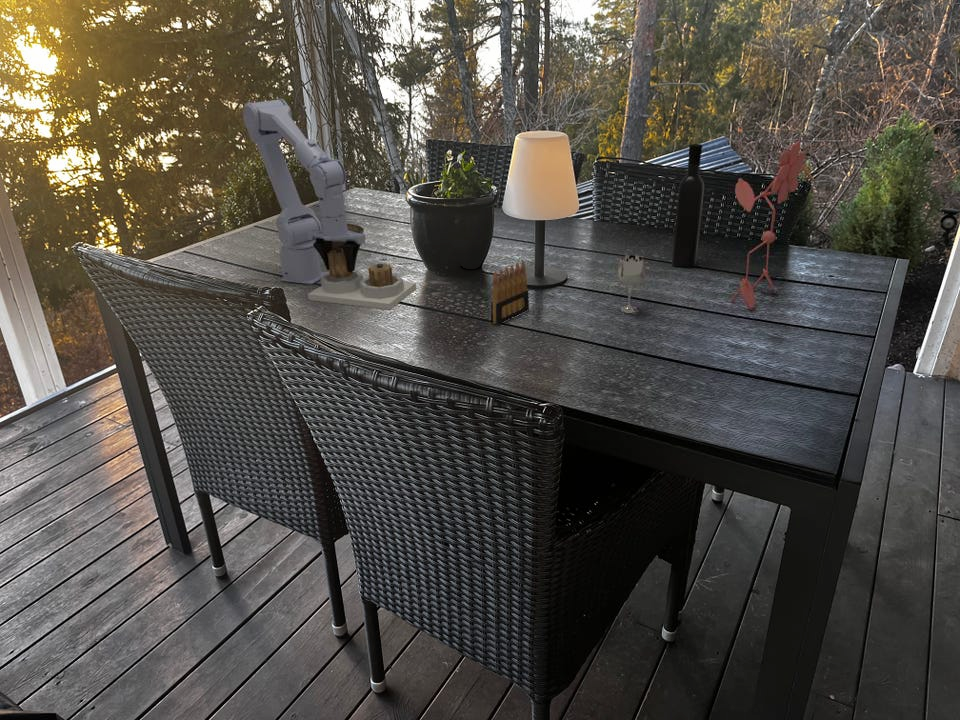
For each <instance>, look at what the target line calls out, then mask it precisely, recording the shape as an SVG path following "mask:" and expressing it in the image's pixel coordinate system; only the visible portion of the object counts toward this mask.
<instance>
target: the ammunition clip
mask: <svg viewBox="0 0 960 720" xmlns="http://www.w3.org/2000/svg"><path fill="white" fill-rule="evenodd" d="M526 270H527V269H526V263H525V261H524V260H522V261H521V263H520V264H519V262H517V263H516V264H515V268H514V265H513V264H511V265H510V267H509V268H508V266H506V267H505V268H504V271H503V269H502V268H500V269H499V272H498V273H497V271H494V272H493V277H492V291H491V296H492V298H491V299H492V301H490V323H493V324H492V325H494V324H495V325H494V326H497V325H498V326H500V325H501V324H500V323H502V322H504V321H506V320H508V319H511V318H512V317H515V316H517V315H519V314H521V313H523V312H525V311H527V310H529V311H530V305H529V304H530V301H529V300H530V299H529V290H528V285H527V284H528V281H527V280H528V279H527V273H526ZM523 314H524V313H523ZM521 315H522V314H521ZM519 316H520V315H519ZM517 317H518V316H517ZM515 318H516V317H515ZM511 320H512V319H511ZM506 322H507V321H506ZM504 323H505V322H504ZM499 324H500V325H499ZM502 324H503V323H502Z"/></svg>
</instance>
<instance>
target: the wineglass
mask: <svg viewBox="0 0 960 720" xmlns="http://www.w3.org/2000/svg"><path fill="white" fill-rule="evenodd" d="M619 259H620V260H619V263H618V267H617V276H616V277H617V280H618V281H619V283H620V285H622V286H624V287H627V304H626V305H623V306H624V307H622V306H621V307H622V308H621V310H622V312H623V311H624V312H626V313H632V312H635V311H637V309H636V308H637V307H636V306H633V305H631V296H632V293H633V289H632V288H635V287H637V286H639V285H641V284H642V283H643V281H644V278H645V273H646V272H645V270H646V269H645V263H644V258H643V257H642V256H640V255H636V254H628V255H623V256H621V257H620V258H619ZM632 306H633V307H632ZM635 307H636V308H635Z"/></svg>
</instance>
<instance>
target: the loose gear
mask: <svg viewBox="0 0 960 720" xmlns="http://www.w3.org/2000/svg"><path fill="white" fill-rule="evenodd" d="M327 254H328V262H329V269H330V270H329V272H330V276H333V278H346V277H350V276H351V274H353V271H352V272H348V270H347V264H346V258H345V255H344V252H343V250H342V248H336V249H332V251H329V253H327Z"/></svg>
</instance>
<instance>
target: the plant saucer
mask: <svg viewBox="0 0 960 720" xmlns="http://www.w3.org/2000/svg"><path fill="white" fill-rule="evenodd" d="M321 226H322V223H321ZM347 228H348V231H352V232H356V233H361V234H364V232H365V229H364V227H362V226H361V225H357V224H352V223H347ZM322 230H323V227H322ZM345 243H346V242H342V241H333V244H332V250H335V248H336V249H338V248H340V247H341V246H342V245H344V244H345Z"/></svg>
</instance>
